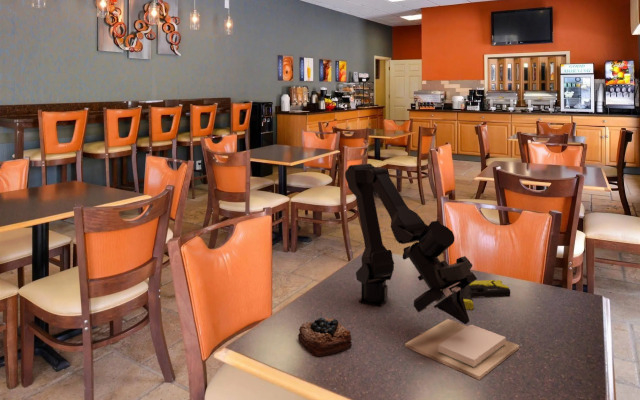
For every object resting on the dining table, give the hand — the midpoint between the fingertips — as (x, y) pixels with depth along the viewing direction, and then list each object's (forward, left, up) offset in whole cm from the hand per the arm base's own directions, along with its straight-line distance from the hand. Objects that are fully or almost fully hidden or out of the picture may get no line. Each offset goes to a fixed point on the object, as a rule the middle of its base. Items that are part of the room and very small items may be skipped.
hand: (467, 323), depth 114 cm
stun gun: (-2, +31, -7) cm, 32 cm away
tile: (-3, +1, -5) cm, 6 cm away
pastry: (-31, -11, -7) cm, 34 cm away
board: (-1, 0, -7) cm, 7 cm away
